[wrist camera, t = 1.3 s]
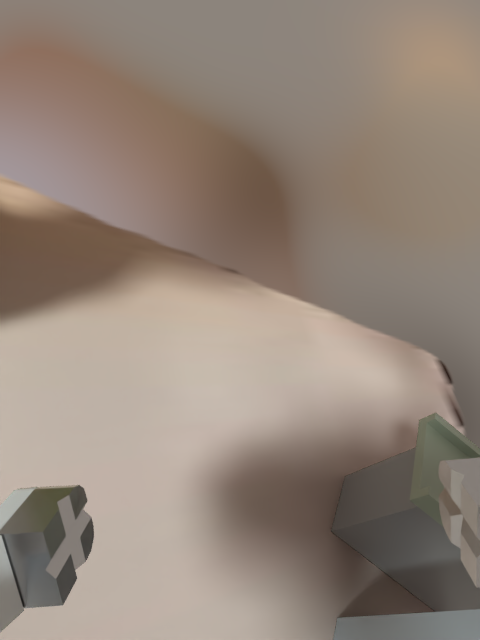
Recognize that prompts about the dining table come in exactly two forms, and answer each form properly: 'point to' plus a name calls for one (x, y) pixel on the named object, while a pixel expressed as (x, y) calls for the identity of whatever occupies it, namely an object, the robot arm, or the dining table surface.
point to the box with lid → (410, 518)
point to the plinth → (411, 626)
